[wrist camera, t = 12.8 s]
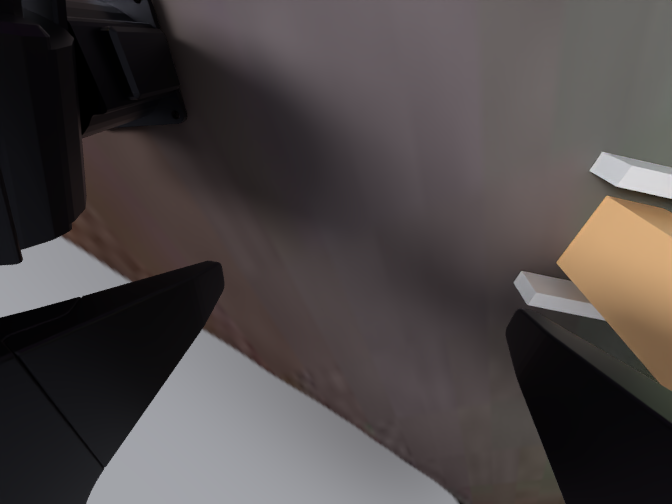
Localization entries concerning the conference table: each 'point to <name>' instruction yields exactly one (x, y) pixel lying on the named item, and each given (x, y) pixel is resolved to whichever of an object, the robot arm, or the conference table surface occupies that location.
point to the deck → (620, 174)
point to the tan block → (629, 277)
